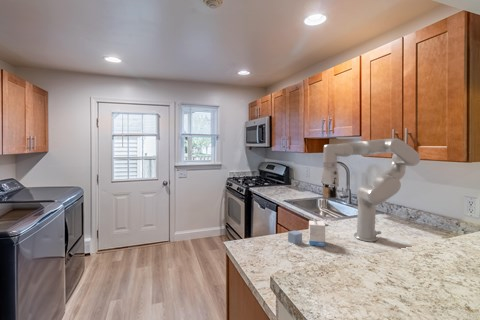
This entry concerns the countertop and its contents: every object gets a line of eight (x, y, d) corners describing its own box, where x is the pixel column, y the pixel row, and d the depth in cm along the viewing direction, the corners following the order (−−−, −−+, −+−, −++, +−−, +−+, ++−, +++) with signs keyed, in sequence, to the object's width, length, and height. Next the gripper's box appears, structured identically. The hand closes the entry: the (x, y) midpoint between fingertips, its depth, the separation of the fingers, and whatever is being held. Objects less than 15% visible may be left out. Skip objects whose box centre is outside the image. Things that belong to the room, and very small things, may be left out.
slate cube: (295, 239, 146) (295, 230, 145) (301, 242, 141) (302, 233, 141) (287, 241, 143) (288, 231, 143) (294, 244, 138) (294, 234, 138)
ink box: (325, 246, 135) (326, 222, 134) (309, 245, 137) (309, 221, 136) (323, 240, 144) (324, 218, 143) (308, 239, 145) (308, 217, 145)
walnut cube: (330, 195, 150) (330, 186, 150) (336, 197, 145) (336, 188, 145) (322, 196, 149) (322, 187, 149) (328, 198, 144) (328, 188, 143)
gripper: (345, 166, 139) (344, 198, 140) (327, 164, 155) (326, 193, 156) (333, 166, 137) (333, 199, 138) (316, 164, 153) (315, 193, 154)
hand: (329, 195), depth 147 cm, fingers closed on walnut cube, 5 cm apart
